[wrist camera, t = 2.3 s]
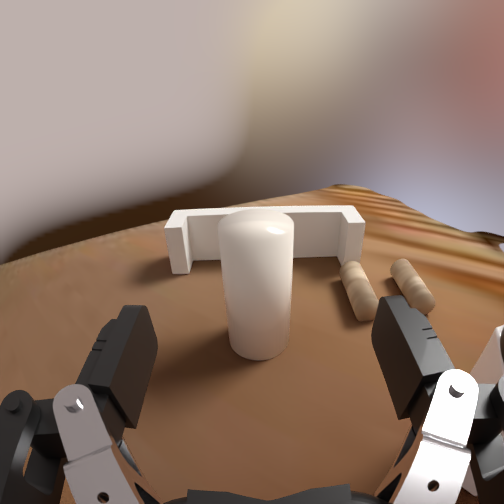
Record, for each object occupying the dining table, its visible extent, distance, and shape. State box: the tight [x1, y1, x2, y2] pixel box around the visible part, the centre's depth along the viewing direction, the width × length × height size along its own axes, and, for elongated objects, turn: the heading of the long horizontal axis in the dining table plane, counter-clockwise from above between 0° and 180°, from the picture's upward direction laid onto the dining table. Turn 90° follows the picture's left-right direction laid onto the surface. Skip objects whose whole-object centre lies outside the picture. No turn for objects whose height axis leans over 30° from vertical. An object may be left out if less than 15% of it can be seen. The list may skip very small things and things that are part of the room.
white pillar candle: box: [218, 209, 294, 360], centre depth 24 cm, size 5×5×11 cm
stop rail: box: [164, 206, 365, 274], centre depth 37 cm, size 22×5×6 cm, turn 90°
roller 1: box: [339, 261, 379, 321], centre depth 31 cm, size 3×7×3 cm
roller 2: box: [390, 259, 435, 315], centre depth 30 cm, size 3×7×3 cm
